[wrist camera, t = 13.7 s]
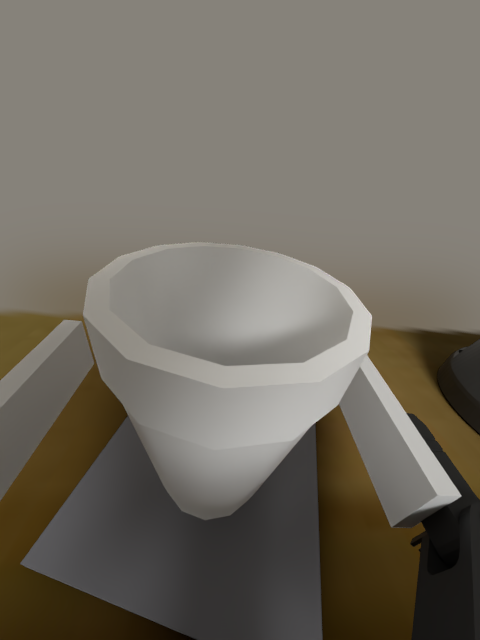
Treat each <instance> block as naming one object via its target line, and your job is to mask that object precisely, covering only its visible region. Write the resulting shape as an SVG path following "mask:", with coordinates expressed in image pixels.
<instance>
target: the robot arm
mask: <svg viewBox="0 0 480 640" xmlns="http://www.w3.org/2000/svg"><path fill="white" fill-rule="evenodd" d="M93 365H94V361H93V358H92V354H91V351H90V348H89V344H88V341H87V338H86V334H85V331H84V328H83V324H82V321H72V320H64V321H63V322H62V323H61V324H59V325H58V326H57V327H56V328H55V329H54V330H53V331H52V332H51V333H50V334H49V335H48V336H47V337H46V338H45V339H44V340H43V341H42V342H41V343H39V344H38V345H37V346H36V347H35V348H34V349H33V350H32V351H31V352H30V353H29V354H28V355H27V356H26V357H25V358H24V359H23V360H22V361H21V362H19V363H18V364H17V365H16V366H15V367H14V368H13V369H12V370H11V371H10V372H9V373H8V374H7V375H6V376H5V377H4V378H3V379H2V380H0V500H1V499H2V497H3V496H4V495H5V493H6V492H7V490H8V489H9V487H10V486H11V484H12V483H13V481H14V480H15V478H16V477H17V476H18V474H19V473H20V471H21V470H22V468H23V467H24V465H25V464H26V462H27V461H28V459H29V458H30V457H31V455H32V454H33V452H34V451H35V449H36V448H37V446H38V445H39V443H40V442H41V440H42V439H43V438H44V436H45V435H46V433H47V432H48V430H49V429H50V427H51V426H52V424H53V423H54V421H55V420H56V419H57V417H58V416H59V414H60V413H61V411H62V410H63V408H64V407H65V405H66V404H67V402H68V401H69V400H70V398H71V397H72V395H73V394H74V392H75V391H76V389H77V388H78V386H79V385H80V383H81V382H82V381H83V379H84V378H85V376H86V375H87V373H88V372H89V370H90V369H91V367H92V366H93ZM437 377H438V383H439V385H440V388H441V390H442V392H443V394H444V395H445V397H446V398H447V400H448V401H449V402H450V404H451V405H452V406H453V408H454V409H455V410H456V411H457V412H458V413H459V414H460V415H461V416H462V418H463V419H464V420H465V421H466V422H467V423H469V424H470V425H471V426H472V427H473V428H474V429H475V430H476V431H477V432H478V433H480V339H479V340H477V341H476V342H475V343H473V344H472V345H470V346H469V347H464V348H461V349H459V350H457V351H455V352H454V353H452V354H451V355H450V356H449V357H448V358H447V360H446V361H445V362H444V363H443V364H442V366H441V367H440V368H439V370H438V374H437ZM339 405H340V408H341V410H342V412H343V415H344V417H345V419H346V422H347V424H348V426H349V429H350V431H351V433H352V436H353V438H354V441H355V443H356V445H357V448H358V450H359V452H360V455H361V457H362V459H363V462H364V464H365V466H366V469H367V471H368V474H369V476H370V478H371V481H372V483H373V485H374V488H375V490H376V492H377V495H378V497H379V499H380V502H381V504H382V507H383V509H384V511H385V514H386V516H387V518H388V521H389V523H390V525H391V527H396V528H412V527H414V526H415V525H417V524H418V523H420V522H422V524H423V526H424V528H425V530H426V531H425V532H423V533H421V534H420V535H418V536H416V537H414V538H413V539H412V541H411V543H410V544H411V545H412V546H413V547H414V546H416V545H418V544H420V543H421V548H420V549H419V551H420V562H419V572H418V582H417V592H416V602H415V612H414V622H413V632H412V640H480V500H479V499H478V498H477V496H476V495H475V494H474V492H473V491H472V490H471V488H470V487H469V485H468V484H467V483H466V481H465V480H464V478H463V477H462V476H461V474H460V473H459V471H458V470H457V469H456V467H455V466H454V464H453V463H452V462H451V460H450V459H449V457H448V456H447V455H446V453H445V452H443V449H442V448H441V446H440V445H439V443H438V442H437V441H435V438H434V436H433V435H432V434H431V432H430V431H429V429H428V428H427V427H426V425H425V424H424V423H423V422H421V421H420V420H419V419H418V418H417V417H416V416H415V415H414V414H409V413H406V412H405V411H404V409H403V408H402V406H401V405H400V403H399V402H398V400H397V399H396V397H395V396H394V394H393V393H392V392H391V390H390V389H389V387H388V386H387V384H386V383H385V381H384V380H383V378H382V377H381V375H380V374H379V372H378V371H377V369H376V368H375V366H374V365H373V363H372V362H371V360H370V359H369V357H368V356H367V355H366V357H365V358H364V360H363V362H362V364H361V365H360V367H359V369H358V371H357V372H356V374H355V376H354V378H353V379H352V381H351V383H350V385H349V386H348V388H347V390H346V391H345V393H344V395H343V397H342V398H341V400H340V402H339Z"/></svg>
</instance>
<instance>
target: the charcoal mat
mask: <svg viewBox="0 0 480 640" xmlns="http://www.w3.org/2000/svg"><path fill="white" fill-rule="evenodd" d="M20 564H22V565H23V566H25V567H27V568H29V569H32V570H34V571H37V572H39V573H41V574H44V575H46V576H48V577H51V578H53V579H55V580H58V581H60V582H62V583H65V584H67V585H69V586H72V587H74V588H76V589H79V590H81V591H83V592H86V593H88V594H90V595H93V596H95V597H98V598H100V599H102V600H105V601H107V602H109V603H112V604H114V605H116V606H119V607H121V608H123V609H126V610H128V611H130V612H133V613H135V614H137V615H140V616H142V617H144V618H147V619H149V620H151V621H154V622H156V623H159V624H161V625H163V626H166V627H168V628H170V629H173V630H175V631H177V632H180V633H182V634H184V635H187V636H189V637H191V638H194V639H196V640H322V612H321V581H320V550H319V519H318V488H317V458H316V427H315V423H314V424H313V425H312V426H311V427H310V428H309V429H308V430H307V432H306V433H305V434H304V435H303V436H302V438H301V439H300V440H299V441H298V442H297V444H296V445H295V446H294V447H293V448H292V449H291V451H290V452H289V453H288V454H287V455H286V457H285V458H284V459H283V460H282V461H281V463H280V464H279V465H278V466H277V467H276V468H275V470H274V471H273V472H272V473H271V474H270V476H269V477H268V478H267V479H266V480H265V482H264V483H263V484H262V485H261V486H260V488H259V489H258V490H257V491H256V492H255V493H254V495H253V496H252V497H251V498H250V499H249V500H248V501H247V502H245V503H244V504H243V505H242V506H241V507H240V508H238V509H237V510H236V511H235V512H234V513H233V514H231V515H230V516H225V517H220V518H214V519H209V520H203V519H201V518H198V517H196V516H193V515H191V514H188V513H186V512H183V511H181V509H180V508H179V507H178V505H177V504H176V503H175V501H174V500H173V499H172V497H171V496H170V495H169V493H168V492H167V490H166V489H165V487H164V485H163V483H162V481H161V480H160V478H159V476H158V474H157V472H156V470H155V468H154V466H153V464H152V462H151V460H150V458H149V456H148V454H147V452H146V450H145V448H144V446H143V444H142V442H141V440H140V438H139V436H138V434H137V432H136V430H135V428H134V426H133V424H132V422H131V420H130V418H129V416H127V418H126V419H125V420H124V422H123V423H122V424H121V426H120V427H119V429H118V430H117V431H116V433H115V434H114V435H113V437H112V438H111V440H110V441H109V442H108V444H107V445H106V446H105V448H104V449H103V451H102V452H101V453H100V455H99V456H98V457H97V459H96V460H95V462H94V463H93V464H92V466H91V467H90V468H89V470H88V471H87V473H86V474H85V475H84V477H83V478H82V479H81V481H80V482H79V484H78V485H77V486H76V488H75V489H74V490H73V492H72V493H71V495H70V496H69V497H68V499H67V500H66V501H65V503H64V504H63V506H62V507H61V508H60V510H59V511H58V512H57V514H56V515H55V517H54V518H53V519H52V521H51V522H50V523H49V525H48V526H47V528H46V529H45V530H44V532H43V533H42V534H41V536H40V537H39V539H38V540H37V541H36V543H35V544H34V545H33V547H32V548H31V550H30V551H29V552H28V554H27V555H26V556H25V558H24V559H23V561H22V562H21V563H20Z"/></svg>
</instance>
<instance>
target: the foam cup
mask: <svg viewBox="0 0 480 640" xmlns="http://www.w3.org/2000/svg"><path fill="white" fill-rule="evenodd" d="M83 317H84V321H85V324H86V327H87V331H88V334H89V338H90V341H91V345H92V348H93V352H94V355H95V358H96V362H97V365H98V369H99V372H100V376H101V379H102V380H103V381H104V382H105V384H106V385H107V386H108V387H109V388H110V390H111V391H112V392H113V393H114V394H115V396H116V397H117V398H118V399H119V400H120V402H121V403H122V404H123V406H124V408H125V410H126V412H127V414H128V416H129V418H130V420H131V422H132V424H133V426H134V428H135V430H136V432H137V434H138V436H139V438H140V440H141V442H142V444H143V446H144V448H145V450H146V452H147V454H148V456H149V458H150V460H151V462H152V464H153V466H154V468H155V470H156V472H157V474H158V476H159V478H160V480H161V481H162V483H163V485H164V487H165V489H166V490H167V492H168V493H169V495H170V496H171V497H172V499H173V500H174V501H175V503H176V504H177V505H178V507H179V508H180V509H181V511H183V512H186V513H188V514H191V515H193V516H196V517H198V518H201V519H203V520H209V519H214V518H220V517H225V516H230V515H231V514H233V513H234V512H235V511H236V510H237V509H238V508H240V507H241V506H242V505H243V504H244V503H245V502H247V501H248V500H249V499H250V498H251V497H252V496H253V495H254V493H255V492H256V491H257V490H258V489H259V488H260V486H261V485H262V484H263V483H264V482H265V480H266V479H267V478H268V477H269V476H270V474H271V473H272V472H273V471H274V470H275V468H276V467H277V466H278V465H279V464H280V463H281V461H282V460H283V459H284V458H285V457H286V455H287V454H288V453H289V452H290V451H291V449H292V448H293V447H294V446H295V445H296V444H297V442H298V441H299V440H300V439H301V438H302V436H303V435H304V434H305V433H306V432H307V430H308V429H309V428H310V427H311V426H312V425H313V424H314V423H316V422H317V421H318V420H320V419H321V418H322V417H323V416H325V415H326V414H327V413H328V412H330V411H331V410H332V409H334V408H335V407H336V406H337V405H338V404H339V402H340V400H341V398H342V397H343V395H344V393H345V391H346V390H347V388H348V386H349V385H350V383H351V381H352V379H353V378H354V376H355V374H356V372H357V371H358V369H359V367H360V365H361V364H362V362H363V360H364V358H365V357H366V355H367V353H368V351H369V345H370V333H371V321H372V315H371V314H370V313H369V311H368V310H367V309H366V307H365V306H364V305H363V304H362V302H361V301H360V300H359V299H358V297H357V296H356V295H355V293H354V292H353V291H352V290H351V288H349V287H348V286H346V285H345V284H343V283H342V282H340V281H338V280H337V279H335V278H334V277H332V276H331V275H329V274H327V273H326V272H324V271H322V270H321V269H319V268H318V267H315V266H313V265H310V264H307V263H305V262H302V261H299V260H296V259H294V258H291V257H288V256H285V255H283V254H280V253H276V252H272V251H267V250H262V249H257V248H253V247H248V246H243V245H234V244H221V243H207V242H193V243H180V244H167V245H157V246H154V247H150V248H147V249H143V250H140V251H137V252H133V253H129V254H126V255H122V256H119V257H118V258H116V259H115V260H114V261H112V262H111V263H109V264H108V265H107V266H106V267H104V268H103V269H101V270H100V271H99V272H97V273H96V274H95V275H93V276H92V277H90V278H89V280H88V286H87V292H86V299H85V305H84V311H83Z"/></svg>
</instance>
